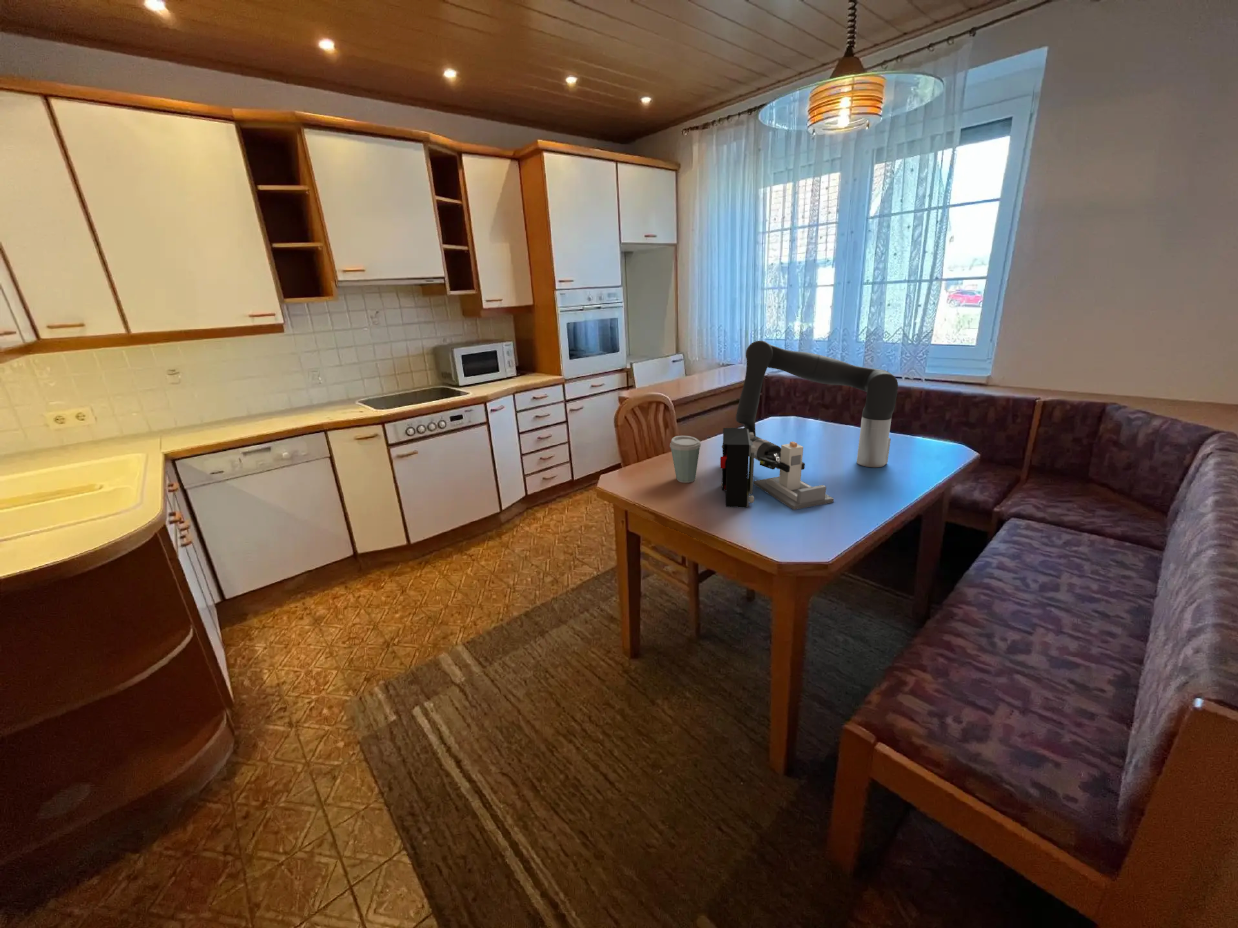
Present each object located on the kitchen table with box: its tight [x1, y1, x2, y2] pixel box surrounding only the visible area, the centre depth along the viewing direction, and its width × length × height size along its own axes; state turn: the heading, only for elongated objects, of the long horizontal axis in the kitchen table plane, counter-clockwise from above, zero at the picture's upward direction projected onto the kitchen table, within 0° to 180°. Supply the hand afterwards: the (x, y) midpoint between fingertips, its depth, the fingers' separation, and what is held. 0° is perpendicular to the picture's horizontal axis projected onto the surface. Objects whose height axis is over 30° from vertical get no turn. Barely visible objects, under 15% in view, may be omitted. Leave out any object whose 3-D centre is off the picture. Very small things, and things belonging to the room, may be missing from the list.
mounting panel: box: [753, 476, 835, 511], centre depth 156 cm, size 14×22×5 cm, turn 17°
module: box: [778, 441, 804, 490], centre depth 155 cm, size 5×5×15 cm
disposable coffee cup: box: [669, 435, 701, 484], centre depth 169 cm, size 11×11×15 cm
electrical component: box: [719, 427, 756, 509], centre depth 154 cm, size 18×10×20 cm, turn 168°
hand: (796, 467), depth 152 cm, fingers closed on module, 4 cm apart
